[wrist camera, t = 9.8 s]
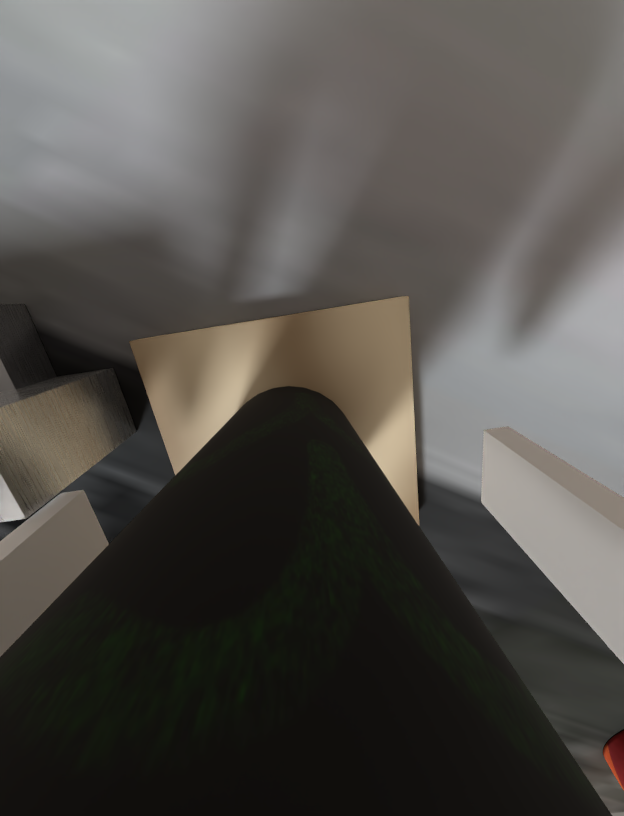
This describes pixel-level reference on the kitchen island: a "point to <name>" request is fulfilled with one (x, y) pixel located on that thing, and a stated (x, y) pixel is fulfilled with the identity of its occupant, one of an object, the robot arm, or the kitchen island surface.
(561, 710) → the kitchen island surface
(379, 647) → the cup
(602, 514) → the robot arm
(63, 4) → the kitchen island surface
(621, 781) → the paper cup
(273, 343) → the coaster
